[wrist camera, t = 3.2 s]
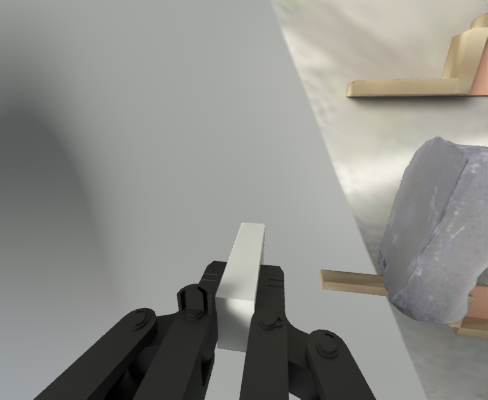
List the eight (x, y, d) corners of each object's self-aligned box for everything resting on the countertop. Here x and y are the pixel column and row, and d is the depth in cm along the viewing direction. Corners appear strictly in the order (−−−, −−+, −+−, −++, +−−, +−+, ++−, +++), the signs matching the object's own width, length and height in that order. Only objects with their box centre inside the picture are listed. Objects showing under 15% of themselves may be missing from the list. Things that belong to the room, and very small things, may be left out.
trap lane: (356, 26, 18) (373, 6, 14) (762, 5, 14) (905, -28, 11) (315, 303, 28) (320, 328, 24) (548, 331, 24) (590, 365, 21)
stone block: (398, 130, 20) (500, 143, 10) (455, 141, 19) (614, 166, 10) (349, 243, 24) (390, 323, 15) (394, 255, 24) (466, 344, 15)
